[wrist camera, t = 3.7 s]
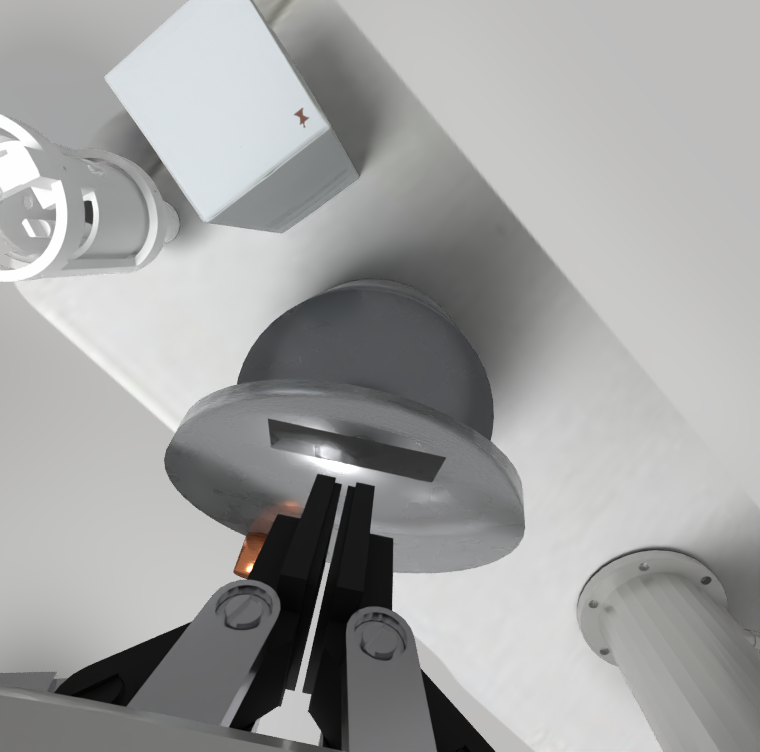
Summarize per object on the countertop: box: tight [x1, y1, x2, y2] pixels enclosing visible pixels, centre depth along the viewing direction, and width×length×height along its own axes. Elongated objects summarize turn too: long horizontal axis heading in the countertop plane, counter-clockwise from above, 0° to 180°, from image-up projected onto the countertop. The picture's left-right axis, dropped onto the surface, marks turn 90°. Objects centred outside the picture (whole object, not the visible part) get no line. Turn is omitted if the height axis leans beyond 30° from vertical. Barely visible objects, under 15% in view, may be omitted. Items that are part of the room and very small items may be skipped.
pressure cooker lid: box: [164, 379, 525, 579], centre depth 19 cm, size 16×16×4 cm
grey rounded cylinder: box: [237, 279, 494, 441], centre depth 30 cm, size 15×15×10 cm
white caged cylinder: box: [0, 114, 180, 282], centre depth 25 cm, size 7×7×15 cm
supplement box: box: [104, 0, 359, 233], centre depth 24 cm, size 7×7×13 cm
